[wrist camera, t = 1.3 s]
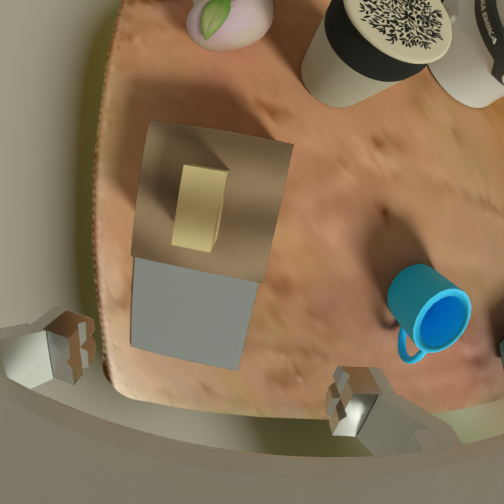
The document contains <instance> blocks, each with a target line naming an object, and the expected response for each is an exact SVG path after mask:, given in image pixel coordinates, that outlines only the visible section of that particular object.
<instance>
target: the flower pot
mask: <svg viewBox="0 0 504 504" xmlns="http://www.w3.org/2000/svg"><path fill="white" fill-rule="evenodd" d="M500 352H501V360H502V364H503V369H504V339H503V340H502V341H501V342H500Z"/></svg>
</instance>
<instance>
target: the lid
mask: <svg viewBox="0 0 504 504" xmlns="http://www.w3.org/2000/svg"><path fill="white" fill-rule="evenodd" d="M293 146H294V144H290V143H285V142H281V141H276V140H272V139H267V138H262V137H257V136H252V135H247V134H242V133H236V132H231V131H225V130H219V129H213V128H206V127H200V126H193V125H186V124H178V123H170V122H162V121H153V120H150V121H149V126H148V131H147V136H146V142H145V147H144V153H143V159H142V165H141V171H140V178H139V185H138V192H137V200H136V208H135V216H134V226H133V236H132V247H131V256H132V257H137V258H141V259H146V260H151V261H155V262H160V263H164V264H169V265H174V266H178V267H183V268H188V269H193V270H197V271H202V272H207V273H212V274H217V275H222V276H227V277H232V278H237V279H242V280H247V281H252V282H257V283H263V279H264V275H265V271H266V266H267V262H268V258H269V253H270V249H271V245H272V240H273V236H274V231H275V227H276V223H277V218H278V214H279V209H280V205H281V200H282V196H283V191H284V187H285V182H286V178H287V173H288V169H289V164H290V159H291V155H292V150H293Z"/></svg>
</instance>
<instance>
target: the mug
mask: <svg viewBox="0 0 504 504" xmlns="http://www.w3.org/2000/svg"><path fill="white" fill-rule="evenodd" d="M387 301H388V307H389V309H390V312H391V314H392V315H393V316H394V317H395V319H396V320H397V321H398V322H399V324H400V325H401V326H400V331H399V335H398V353H399V355H400V358H401V359H402V360H403V361H404V362H405V363H411V364H413V363H415V362H417V361H419V360H421V359H422V358H423V357H424V356H425V355H426V354H427V352H428V353H433V352H439V351H441V350H444V349H446V348H448V347H449V346H450V345H452V344H453V343H454V342H455V341H456V340H457V339H458V338H459V337H460V336H461V335H462V333H463V332H464V330H465V328H466V327H467V324H468V321H469V318H470V314H471V304H470V300H469V297H468V296H467V295H466V293H465V292H464V291H463V290H461V289H460V288H459V287H457V286H456V285H455V284H453V283H452V282H451V281H449V280H448V279H446V278H445V277H444V276H442V275H441V274H440V273H438V272H437V271H435V270H434V269H433V268H431V267H429V266H427V265H425V264H415V265H412V266H409V267H407V268H406V269H404V270H403V271H401V272H400V273H399V274H398V275H397V276H396V277H395V279H394V280H393V282H392V284H391V286H390V288H389V292H388V296H387ZM407 334H408V335H409V337H410V338H411V339H412V341H413V342H414V343H415V345H416V346H417V347H418V348H419V349H420V350H419V351H418V352H417V353H416V354H415V355H414V356H412V357H410V356H409V355H408V353H407V351H406V335H407Z"/></svg>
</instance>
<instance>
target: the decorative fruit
mask: <svg viewBox="0 0 504 504" xmlns="http://www.w3.org/2000/svg"><path fill="white" fill-rule="evenodd" d="M192 2H193V7H192V9H191V10H190V12H189V14H188V17H187V20H186V29H187V32H188V34H189V36H190V38H191V39H192V40H193V41H194V42H195V43H196V44H197V45H199V46H200V47H202V48H204V49H206V50H209V51H213V52H230V51H235V50H239V49H242V48H245V47H247V46H250V45H252V44H253V43H255V42H257V41H258V40H260V39H261V38H262V37H263V36H264V35H265V34H266V32H267V31H268V29H269V28H270V26H271V24H272V20H273V14H274V6H273V1H272V0H192Z"/></svg>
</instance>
